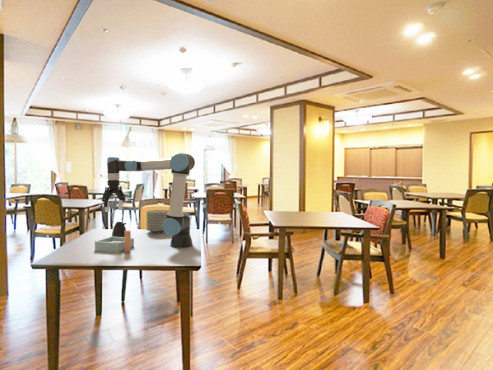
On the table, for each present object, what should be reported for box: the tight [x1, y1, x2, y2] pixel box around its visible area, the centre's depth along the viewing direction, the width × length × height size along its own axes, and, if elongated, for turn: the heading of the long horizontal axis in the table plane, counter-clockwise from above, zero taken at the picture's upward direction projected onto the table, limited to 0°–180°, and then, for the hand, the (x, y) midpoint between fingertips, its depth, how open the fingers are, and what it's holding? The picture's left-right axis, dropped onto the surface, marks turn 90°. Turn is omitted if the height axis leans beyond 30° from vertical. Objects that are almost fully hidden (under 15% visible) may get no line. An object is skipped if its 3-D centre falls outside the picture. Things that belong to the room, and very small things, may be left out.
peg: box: [124, 229, 132, 254], centre depth 195 cm, size 4×4×14 cm
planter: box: [146, 209, 169, 234], centre depth 258 cm, size 19×19×18 cm
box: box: [94, 235, 135, 254], centre depth 204 cm, size 18×16×6 cm
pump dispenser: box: [111, 221, 127, 237], centre depth 223 cm, size 10×10×15 cm
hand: (113, 210), depth 209 cm, fingers open, 13 cm apart
